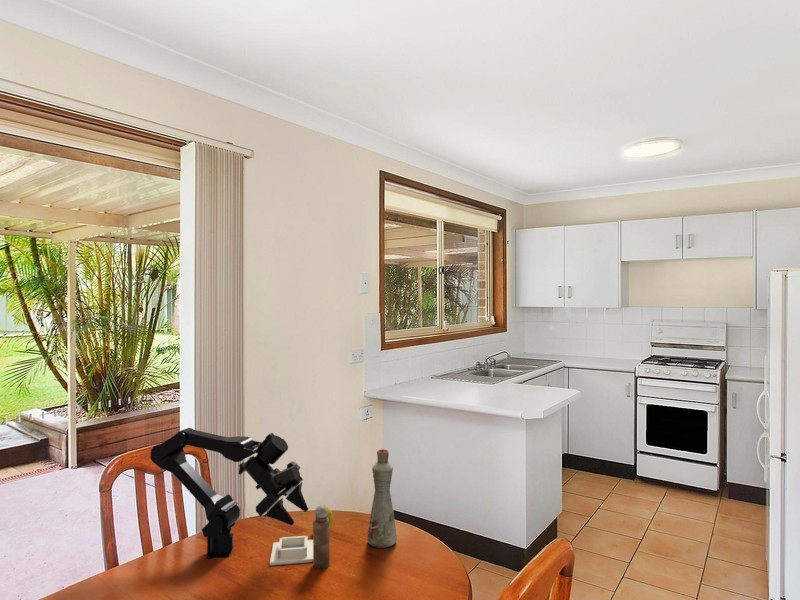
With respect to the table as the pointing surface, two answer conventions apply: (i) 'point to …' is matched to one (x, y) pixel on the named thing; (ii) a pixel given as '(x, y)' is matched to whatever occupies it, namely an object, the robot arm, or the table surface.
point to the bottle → (382, 505)
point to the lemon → (329, 516)
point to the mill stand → (292, 550)
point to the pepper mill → (321, 539)
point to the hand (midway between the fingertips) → (300, 517)
